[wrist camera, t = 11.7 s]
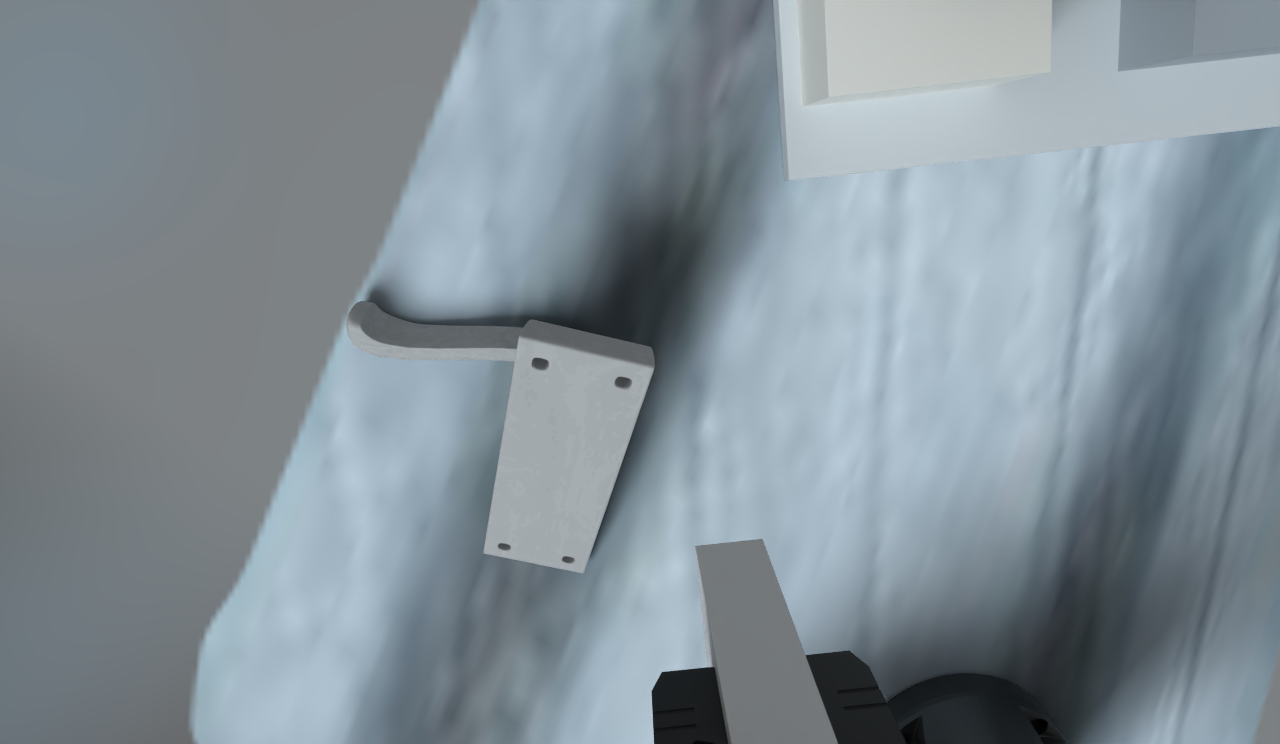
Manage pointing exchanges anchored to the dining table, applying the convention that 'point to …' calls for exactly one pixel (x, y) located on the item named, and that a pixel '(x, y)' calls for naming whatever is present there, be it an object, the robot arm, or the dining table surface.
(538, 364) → the door handle
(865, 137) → the white stepped platform
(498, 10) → the dining table surface
